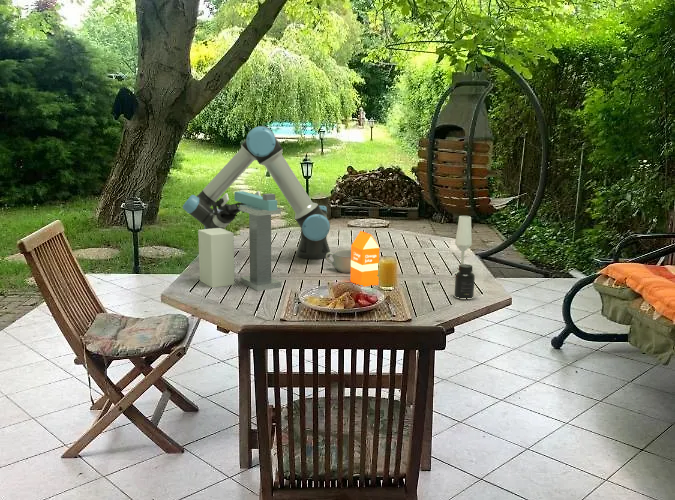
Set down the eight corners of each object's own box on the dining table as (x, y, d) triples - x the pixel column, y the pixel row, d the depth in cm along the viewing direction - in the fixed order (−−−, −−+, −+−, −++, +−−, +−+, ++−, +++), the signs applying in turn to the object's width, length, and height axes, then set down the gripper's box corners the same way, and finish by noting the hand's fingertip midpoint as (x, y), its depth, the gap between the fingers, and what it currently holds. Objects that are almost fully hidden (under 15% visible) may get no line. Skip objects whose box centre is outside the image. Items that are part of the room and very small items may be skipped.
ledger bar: (234, 200, 252) (234, 186, 251) (242, 200, 254) (242, 186, 253) (268, 210, 230) (268, 195, 229) (277, 210, 232) (277, 195, 231)
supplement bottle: (452, 294, 237) (453, 263, 234) (470, 294, 237) (472, 263, 235) (457, 300, 230) (459, 268, 227) (475, 300, 231) (477, 267, 228)
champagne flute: (457, 276, 262) (461, 218, 257) (450, 272, 269) (453, 215, 263) (472, 275, 264) (476, 218, 259) (465, 271, 270) (468, 215, 265)
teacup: (362, 269, 271) (362, 250, 269) (354, 275, 261) (354, 256, 259) (331, 266, 276) (331, 247, 274) (322, 272, 266) (322, 253, 264)
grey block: (199, 280, 249) (198, 229, 245) (221, 277, 254) (220, 227, 250) (212, 287, 240) (211, 235, 235) (234, 284, 245) (233, 233, 240)
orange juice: (361, 286, 245) (362, 235, 240) (350, 281, 253) (351, 231, 248) (378, 284, 248) (380, 233, 244) (367, 279, 256) (368, 229, 252)
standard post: (240, 282, 248) (239, 205, 242) (263, 278, 254) (263, 203, 247) (257, 290, 237) (256, 210, 230) (281, 287, 243) (281, 208, 236)
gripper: (253, 221, 271) (274, 202, 254) (197, 226, 258) (215, 206, 241) (249, 204, 273) (270, 184, 256) (193, 209, 259) (211, 188, 242)
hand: (243, 195), depth 248 cm, fingers open, 13 cm apart
